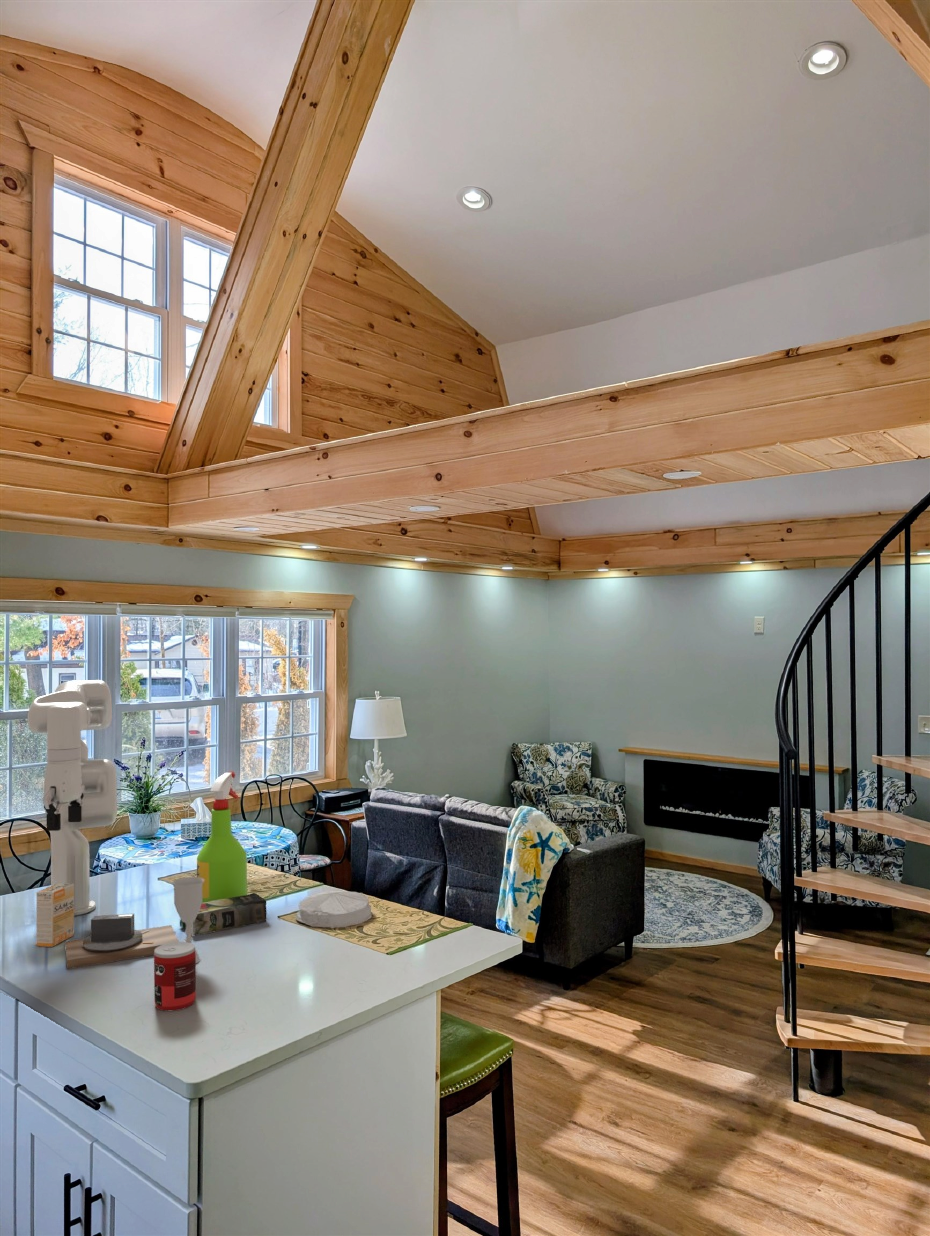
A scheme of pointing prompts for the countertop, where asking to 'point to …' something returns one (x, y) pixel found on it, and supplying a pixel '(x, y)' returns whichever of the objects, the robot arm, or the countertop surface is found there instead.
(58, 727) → the robot arm
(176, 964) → the canned food
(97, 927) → the dial
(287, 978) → the countertop surface
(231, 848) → the spray bottle
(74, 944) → the dial panel
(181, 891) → the chalice
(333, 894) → the white round cake
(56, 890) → the supplement box
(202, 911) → the juice carton
